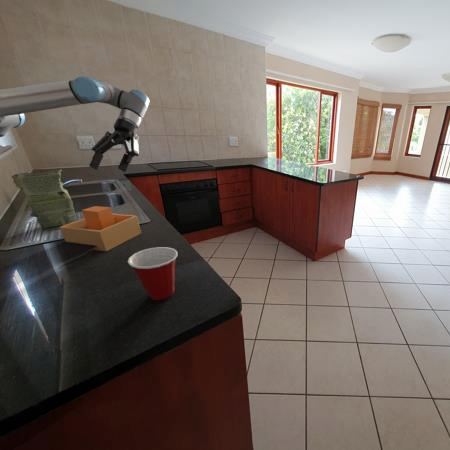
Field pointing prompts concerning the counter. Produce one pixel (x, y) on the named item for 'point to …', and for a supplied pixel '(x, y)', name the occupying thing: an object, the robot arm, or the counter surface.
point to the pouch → (47, 198)
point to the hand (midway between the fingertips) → (107, 169)
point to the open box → (102, 232)
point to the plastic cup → (156, 270)
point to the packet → (98, 217)
